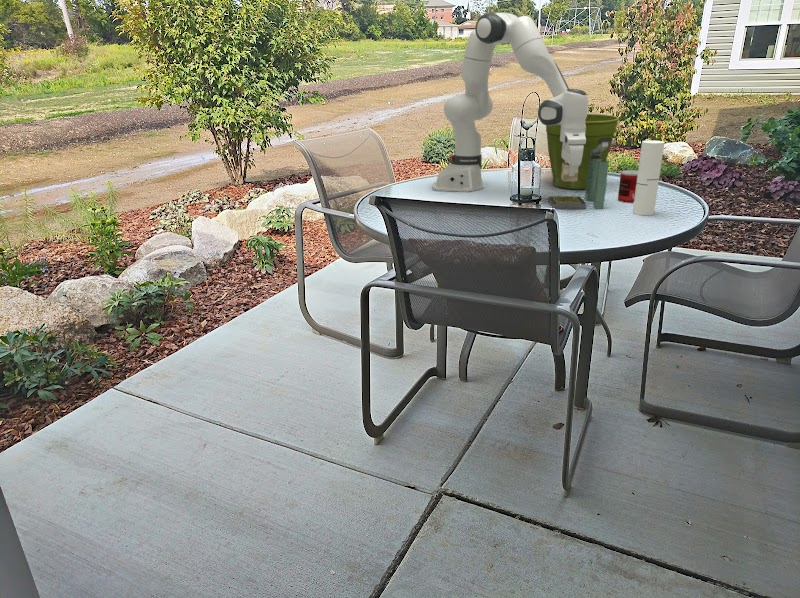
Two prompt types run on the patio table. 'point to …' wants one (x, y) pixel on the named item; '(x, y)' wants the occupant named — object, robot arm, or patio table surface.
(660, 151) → the cylindrical container
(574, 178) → the block
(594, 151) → the press lever
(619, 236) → the patio table surface
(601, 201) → the press base
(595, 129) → the plant pot
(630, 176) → the canned food
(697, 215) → the patio table surface
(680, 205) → the patio table surface
